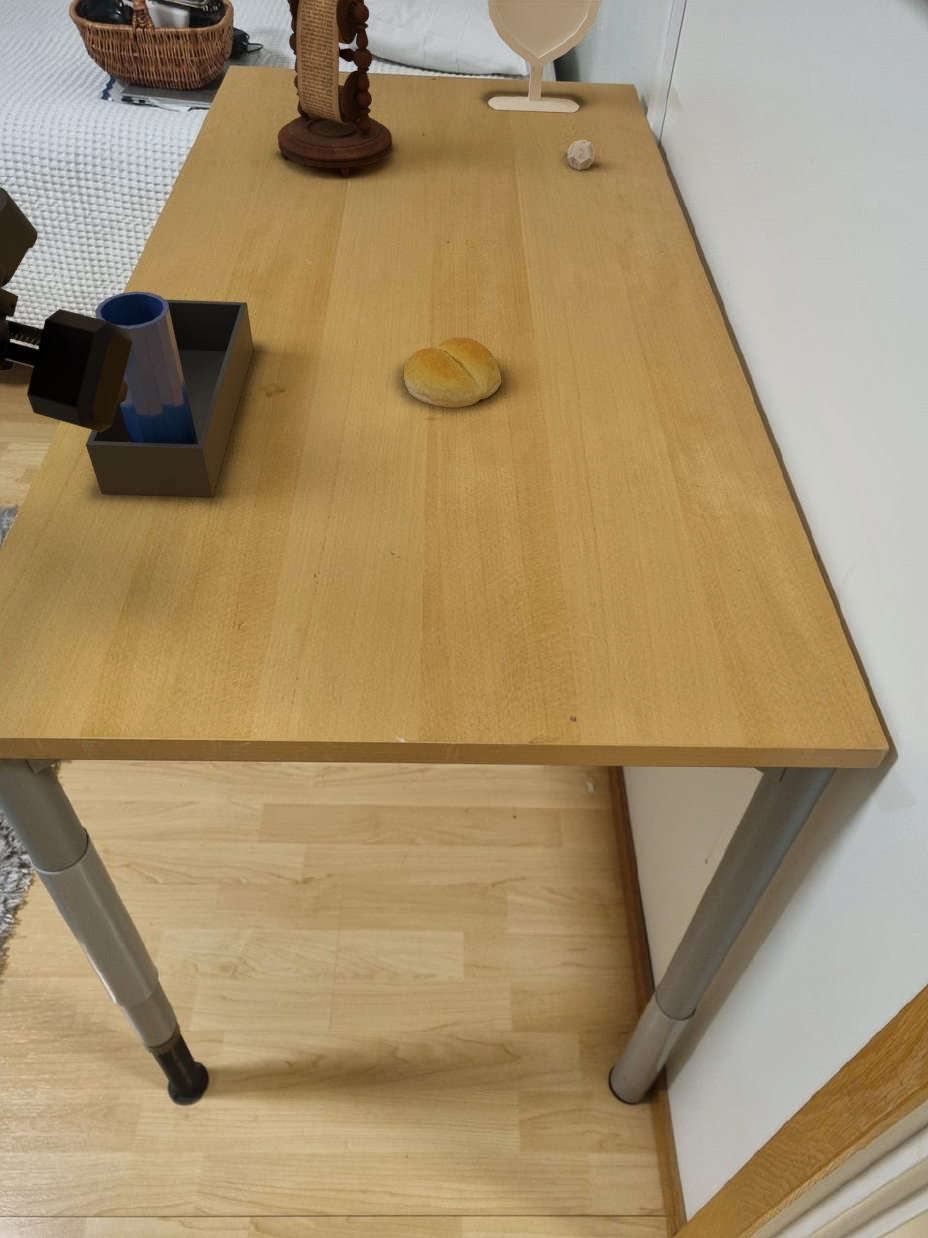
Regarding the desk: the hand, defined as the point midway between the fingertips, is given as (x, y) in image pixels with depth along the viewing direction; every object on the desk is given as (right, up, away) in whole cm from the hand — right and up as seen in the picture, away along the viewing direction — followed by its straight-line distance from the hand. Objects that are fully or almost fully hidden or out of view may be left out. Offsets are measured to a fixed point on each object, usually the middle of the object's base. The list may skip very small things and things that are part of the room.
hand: (67, 377), depth 64 cm
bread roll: (+26, +6, +25) cm, 37 cm away
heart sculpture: (+38, +59, +74) cm, 102 cm away
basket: (+2, +1, +20) cm, 20 cm away
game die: (+43, +43, +60) cm, 85 cm away
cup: (+2, -3, +15) cm, 15 cm away
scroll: (+10, +44, +59) cm, 75 cm away
